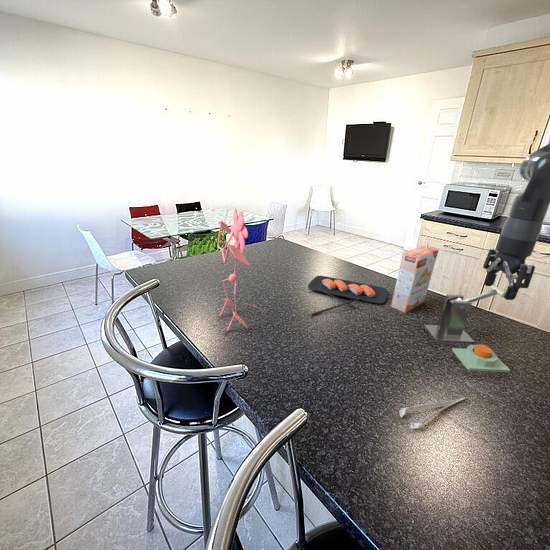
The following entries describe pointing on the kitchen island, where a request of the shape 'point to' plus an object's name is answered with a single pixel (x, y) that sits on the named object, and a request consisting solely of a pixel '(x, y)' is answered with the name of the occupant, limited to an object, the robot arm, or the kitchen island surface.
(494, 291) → the lever
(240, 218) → the figurine
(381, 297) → the sushi plate
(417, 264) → the cracker box
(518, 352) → the kitchen island surface
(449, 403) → the tweezers
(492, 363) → the button block
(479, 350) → the button
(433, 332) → the bracket
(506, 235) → the robot arm
